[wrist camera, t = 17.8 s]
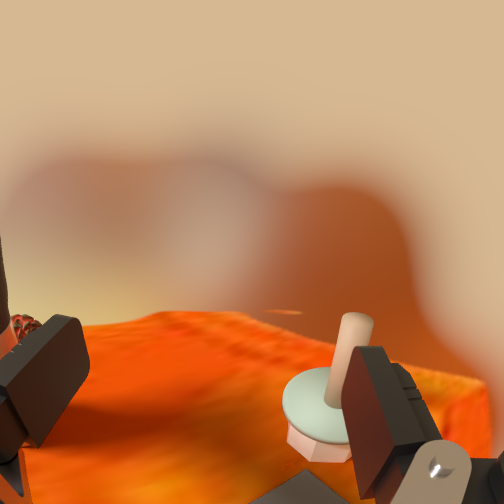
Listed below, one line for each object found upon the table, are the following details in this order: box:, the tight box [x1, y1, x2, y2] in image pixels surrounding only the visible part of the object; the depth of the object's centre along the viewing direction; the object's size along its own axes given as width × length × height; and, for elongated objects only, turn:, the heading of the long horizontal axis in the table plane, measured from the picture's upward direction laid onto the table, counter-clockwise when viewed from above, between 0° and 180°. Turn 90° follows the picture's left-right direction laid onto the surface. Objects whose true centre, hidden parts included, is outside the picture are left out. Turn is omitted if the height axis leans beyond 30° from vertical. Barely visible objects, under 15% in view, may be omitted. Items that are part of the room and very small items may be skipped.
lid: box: [282, 312, 374, 445], centre depth 35 cm, size 14×14×13 cm
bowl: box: [287, 422, 352, 463], centre depth 38 cm, size 11×11×6 cm
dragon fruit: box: [11, 314, 42, 343], centre depth 47 cm, size 8×8×12 cm
